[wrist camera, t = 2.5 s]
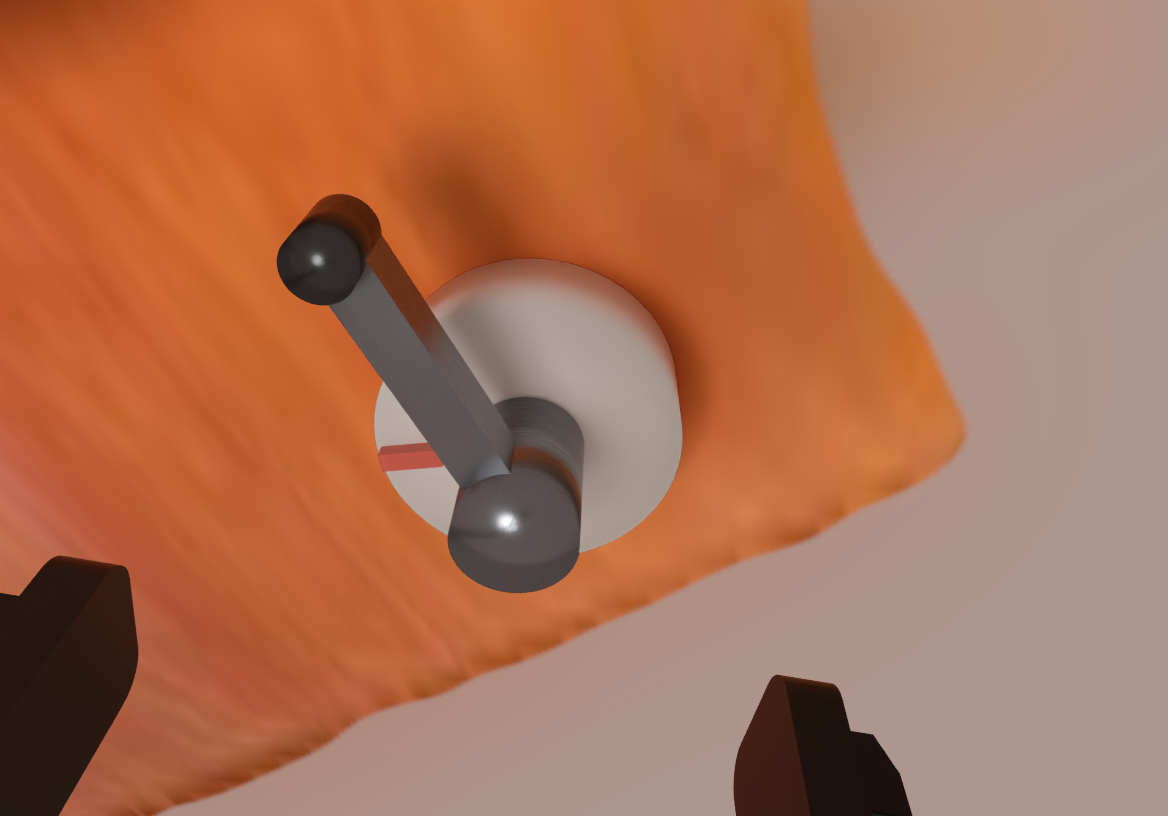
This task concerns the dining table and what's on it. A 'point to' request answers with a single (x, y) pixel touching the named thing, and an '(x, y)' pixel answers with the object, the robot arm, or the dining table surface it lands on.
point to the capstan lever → (449, 404)
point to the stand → (554, 387)
